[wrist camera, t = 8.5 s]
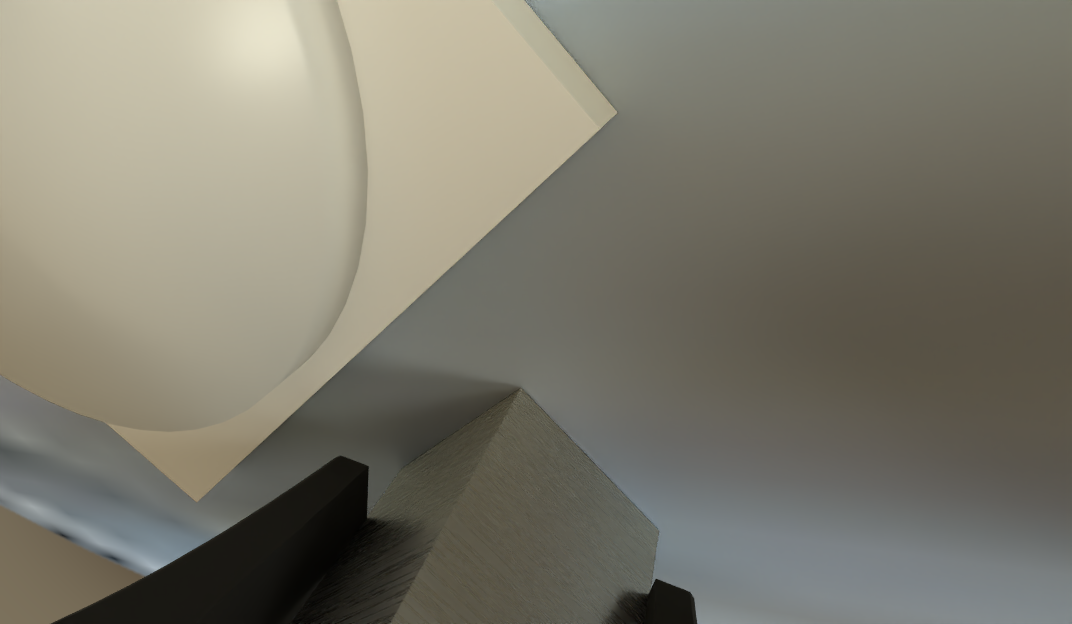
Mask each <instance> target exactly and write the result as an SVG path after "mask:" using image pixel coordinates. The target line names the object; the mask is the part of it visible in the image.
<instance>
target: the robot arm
mask: <svg viewBox="0 0 1072 624" xmlns="http://www.w3.org/2000/svg"><path fill="white" fill-rule="evenodd" d="M368 469H369V466H366V465H364V464H361V463H359V462H356V461H353V460H351V459H348V458H346V457H343V456H339V457H336V458H334V459H333V460H332V461H330V462H329V463H327V464H326V465H324V466H323V467H321V468H320V469H319V470H317V471H316V472H314V473H313V474H311V475H310V476H308V477H307V478H305V479H304V480H303V481H301V482H300V483H298V484H297V485H295V486H294V487H292V488H291V489H289V490H288V491H286V492H285V493H283V494H282V495H280V496H279V497H277V498H276V499H274V500H273V501H271V502H270V503H268V504H267V505H265V506H264V507H262V508H260V509H259V510H257V511H256V512H254V513H253V514H251V515H249V516H248V517H246V518H245V519H243V520H241V521H240V522H238V523H237V524H235V525H234V526H232V527H230V528H229V529H227V530H226V531H224V532H222V533H221V534H219V535H217V536H216V537H214V538H212V539H211V540H209V541H207V542H206V543H204V544H202V545H200V546H199V547H197V548H195V549H194V550H192V551H190V552H188V553H187V554H185V555H183V556H182V557H180V558H178V559H176V560H175V561H173V562H171V563H170V564H168V565H166V566H164V567H162V568H161V569H159V570H157V571H155V572H153V573H151V574H150V575H148V576H146V577H144V578H142V579H140V580H138V581H137V582H135V583H133V584H131V585H129V586H127V587H125V588H123V589H121V590H119V591H117V592H115V593H113V594H111V595H109V596H107V597H105V598H104V599H102V600H99V601H98V602H96V603H93V604H91V605H90V606H87V607H85V608H83V609H81V610H79V611H77V612H75V613H72V614H70V615H68V616H66V617H64V618H62V619H60V620H58V621H55V622H53V623H51V624H291V622H292V621H293V619H294V618H295V617H296V615H297V614H298V612H299V611H300V610H301V608H302V607H303V605H304V604H305V603H306V601H307V600H308V598H309V597H310V596H311V594H312V593H313V591H314V590H315V589H316V587H317V586H318V584H319V583H320V582H321V580H322V579H323V577H324V576H325V575H326V573H327V572H328V571H329V569H330V568H331V567H332V565H333V564H334V563H335V561H336V560H337V559H338V557H339V556H340V555H341V553H342V552H343V550H344V549H345V548H346V546H347V545H348V543H349V542H350V541H351V539H352V538H353V536H354V535H355V534H356V532H357V531H358V529H359V528H360V527H361V525H362V524H363V522H364V521H365V520H366V518H367V498H368ZM644 624H697V619H696V611H695V602H694V598H693V596H692V594H691V593H690V592H689V591H686V590H684V589H681V588H678V587H676V586H673V585H671V584H668V583H666V582H663V581H660V580H658V579H656V580H655V582H654V584H653V586H652V588H651V590H650V592H649V594H648V600H647V607H646V614H645V621H644Z"/></svg>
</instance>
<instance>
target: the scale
mask: <svg viewBox="0 0 1072 624" xmlns="http://www.w3.org/2000/svg"><path fill="white" fill-rule="evenodd" d="M616 114H617V111H616V110H615V109H614V108H613V107H612V105H611V104H610V103H609V102H608V101H607V99H606V98H605V97H604V96H603V95H602V93H601V92H600V91H599V90H598V89H597V87H596V86H595V85H594V84H593V83H592V81H591V80H590V79H589V78H588V77H587V75H586V74H585V73H584V72H583V70H582V69H581V68H580V67H579V66H578V64H577V63H576V62H575V61H574V60H573V58H572V57H571V56H570V55H569V54H568V52H567V51H566V50H565V49H564V48H563V46H562V45H561V44H560V43H559V42H558V40H557V39H556V38H555V37H554V36H553V34H552V33H551V32H550V31H549V30H548V28H547V27H546V26H545V25H544V24H543V22H542V21H541V20H540V19H539V17H538V16H537V15H536V14H535V13H534V11H533V10H532V9H531V8H530V7H529V5H528V4H527V3H526V2H525V1H524V0H0V375H2V376H4V377H5V378H7V379H8V380H10V381H12V382H13V383H15V384H17V385H19V386H20V387H22V388H24V389H26V390H28V391H30V392H32V393H34V394H36V395H38V396H39V397H41V398H43V399H45V400H47V401H49V402H52V403H54V404H56V405H59V406H61V407H63V408H66V409H68V410H70V411H73V412H75V413H77V414H80V415H83V416H86V417H89V418H93V419H96V420H99V421H102V422H105V423H106V424H108V425H109V426H110V427H111V428H112V429H113V430H114V431H116V432H117V433H118V434H119V435H120V436H121V437H122V438H124V439H125V440H126V441H127V442H128V443H129V444H130V445H132V446H133V447H134V448H135V449H136V450H137V451H138V452H140V453H141V454H142V455H143V456H144V457H145V458H146V459H148V460H149V461H150V462H151V463H152V464H153V465H154V466H156V467H157V468H158V469H159V470H160V471H161V472H162V473H164V474H165V475H166V476H167V477H168V478H169V479H170V480H172V481H173V482H174V483H175V484H176V485H177V486H178V487H180V488H181V489H182V490H183V491H184V492H185V493H186V494H188V495H189V496H190V497H191V498H192V499H193V500H194V501H196V502H198V501H199V500H200V499H201V498H202V497H203V496H204V495H205V494H206V493H207V492H209V491H210V490H211V489H212V488H213V487H214V486H215V485H216V484H217V483H218V482H219V481H220V480H222V479H223V478H224V477H225V476H226V475H227V474H228V473H229V472H230V471H231V470H232V469H233V468H235V467H236V466H237V465H238V464H239V463H240V462H241V461H242V460H243V459H244V458H245V457H246V456H247V455H249V454H250V453H251V452H252V451H253V450H254V449H255V448H256V447H257V446H258V445H259V444H260V443H262V442H263V441H264V440H265V439H266V438H267V437H268V436H269V435H270V434H271V433H272V432H273V431H274V430H276V429H277V428H278V427H279V426H280V425H281V424H282V423H283V422H284V421H285V420H286V419H287V418H289V417H290V416H291V415H292V414H293V413H294V412H295V411H296V410H297V409H298V408H299V407H300V406H301V405H303V404H304V403H305V402H306V401H307V400H308V399H309V398H310V397H311V396H312V395H313V394H314V393H316V392H317V391H318V390H319V389H320V388H321V387H322V386H323V385H324V384H325V383H326V382H327V381H328V380H330V379H331V378H332V377H333V376H334V375H335V374H336V373H337V372H338V371H339V370H340V369H341V368H343V367H344V366H345V365H346V364H347V363H348V362H349V361H350V360H351V359H352V358H353V357H354V356H356V355H357V354H358V353H359V352H360V351H361V350H362V349H363V348H364V347H365V346H366V345H367V344H368V343H370V342H371V341H372V340H373V339H374V338H375V337H376V336H377V335H378V334H379V333H380V332H381V331H383V330H384V329H385V328H386V327H387V326H388V325H389V324H390V323H391V322H392V321H393V320H394V319H395V318H397V317H398V316H399V315H400V314H401V313H402V312H403V311H404V310H405V309H406V308H407V307H408V306H410V305H411V304H412V303H413V302H414V301H415V300H416V299H417V298H418V297H419V296H420V295H421V294H422V293H424V292H425V291H426V290H427V289H428V288H429V287H430V286H431V285H432V284H433V283H434V282H435V281H437V280H438V279H439V278H440V277H441V276H442V275H443V274H444V273H445V272H446V271H447V270H448V269H449V268H451V267H452V266H453V265H454V264H455V263H456V262H457V261H458V260H459V259H460V258H461V257H462V256H464V255H465V254H466V253H467V252H468V251H469V250H470V249H471V248H472V247H473V246H474V245H475V244H477V243H478V242H479V241H480V240H481V239H482V238H483V237H484V236H485V235H486V234H487V233H488V232H489V231H491V230H492V229H493V228H494V227H495V226H496V225H497V224H498V223H499V222H500V221H501V220H502V219H504V218H505V217H506V216H507V215H508V214H509V213H510V212H511V211H512V210H513V209H514V208H515V207H516V206H518V205H519V204H520V203H521V202H522V201H523V200H524V199H525V198H526V197H527V196H528V195H529V194H531V193H532V192H533V191H534V190H535V189H536V188H537V187H538V186H539V185H540V184H541V183H542V182H543V181H545V180H546V179H547V178H548V177H549V176H550V175H551V174H552V173H553V172H554V171H555V170H556V169H558V168H559V167H560V166H561V165H562V164H563V163H564V162H565V161H566V160H567V159H568V158H569V157H570V156H572V155H573V154H574V153H575V152H576V151H577V150H578V149H579V148H580V147H581V146H582V145H583V144H585V143H586V142H587V141H588V140H589V139H590V138H591V137H592V136H593V135H594V134H595V133H596V132H598V131H599V130H600V129H601V128H602V127H603V126H604V125H605V124H606V123H607V122H608V121H609V120H610V119H611V118H613V117H614V116H615V115H616Z"/></svg>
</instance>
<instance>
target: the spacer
mask: <svg viewBox="0 0 1072 624" xmlns="http://www.w3.org/2000/svg"><path fill="white" fill-rule="evenodd" d="M658 535H659V530H658V529H657V528H656V527H655V526H654V525H653V524H652V523H651V522H650V521H649V520H648V519H647V518H646V517H645V516H644V515H643V514H642V512H641V511H640V510H639V509H638V508H637V507H636V506H635V505H634V504H633V503H632V502H631V501H630V500H629V499H628V498H627V497H626V496H625V495H624V494H623V493H622V492H621V491H620V490H619V489H618V488H617V487H616V486H615V485H614V484H613V482H612V481H611V480H610V479H609V478H608V477H607V476H606V475H605V474H604V473H603V472H602V471H601V470H600V469H599V468H598V467H597V466H596V465H595V464H594V463H593V462H592V461H591V460H590V459H589V458H588V457H587V456H586V455H585V453H584V452H583V451H582V450H581V449H580V448H579V447H578V446H577V445H576V444H575V443H574V442H573V441H572V440H571V439H570V438H569V437H568V436H567V435H566V434H565V433H564V432H563V431H562V430H561V429H560V428H559V427H558V426H557V424H556V423H555V422H554V421H553V420H552V419H551V418H550V417H549V416H548V415H547V414H546V413H545V412H544V411H543V410H542V409H541V408H540V407H539V406H538V405H537V404H536V403H535V402H534V401H533V400H532V399H531V398H530V397H529V396H528V394H527V393H526V392H525V391H524V390H523V389H522V388H520V389H519V390H517V391H516V392H514V393H513V394H511V395H510V396H508V397H507V398H505V399H504V400H502V401H501V402H500V403H498V404H497V405H495V406H494V407H492V408H491V409H489V410H488V411H486V412H485V413H483V414H482V415H480V416H479V417H477V418H476V419H474V420H473V421H471V422H470V423H468V424H467V425H465V426H464V427H462V428H461V429H459V430H458V431H457V432H455V433H454V434H452V435H451V436H449V437H448V438H446V439H445V440H443V441H442V442H440V443H439V444H437V445H436V446H434V447H433V448H431V449H430V450H428V451H427V452H425V453H424V454H422V455H421V456H419V457H418V458H417V459H415V460H414V461H412V462H411V463H409V464H408V465H406V466H405V467H403V468H402V469H401V470H400V471H399V473H398V474H397V476H396V477H395V478H394V480H393V481H392V483H391V484H390V485H389V487H388V488H387V490H386V491H385V492H384V494H383V495H382V497H381V498H380V499H379V501H378V502H377V504H376V505H375V506H374V508H373V509H372V511H371V512H370V513H369V515H368V516H367V518H366V520H365V521H364V522H363V524H362V525H361V527H360V528H359V529H358V531H357V532H356V534H355V535H354V536H353V538H352V539H351V541H350V542H349V543H348V545H347V546H346V548H345V549H344V550H343V552H342V553H341V555H340V556H339V557H338V559H337V560H336V561H335V563H334V564H333V565H332V567H331V568H330V569H329V571H328V572H327V573H326V575H325V576H324V577H323V579H322V580H321V582H320V583H319V584H318V586H317V587H316V589H315V590H314V591H313V593H312V594H311V596H310V597H309V598H308V600H307V601H306V603H305V604H304V605H303V607H302V608H301V610H300V611H299V612H298V614H297V615H296V617H295V618H294V619H293V621H292V622H291V624H644V621H645V614H646V607H647V600H648V594H649V592H650V590H651V584H652V577H653V570H654V563H655V556H656V549H657V542H658Z"/></svg>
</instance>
